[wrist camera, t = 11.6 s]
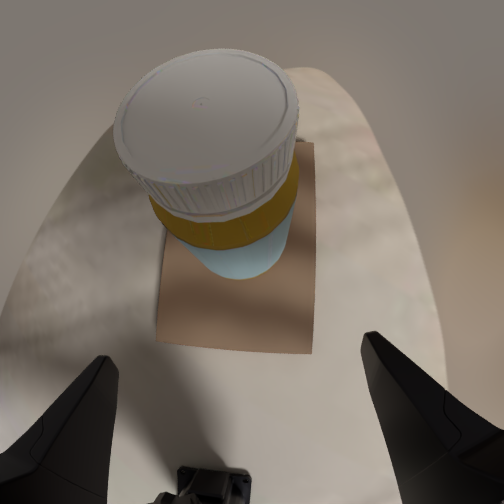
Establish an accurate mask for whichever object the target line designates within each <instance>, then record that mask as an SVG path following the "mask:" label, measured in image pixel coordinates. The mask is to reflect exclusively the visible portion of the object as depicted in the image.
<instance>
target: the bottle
mask: <svg viewBox="0 0 504 504" xmlns="http://www.w3.org/2000/svg"><path fill="white" fill-rule="evenodd" d="M298 104H299V100H298V98H297V93H296V90H295V87H294V85H293V83H292V81H291V80H290V78H289V77H288V75H287V74H286V73H285V72H284V71H283V70H282V69H281V68H280V67H279V66H277V65H276V64H275V63H273V62H272V61H270V60H268V59H266V58H264V57H262V56H260V55H257V54H254V53H251V52H247V51H242V50H236V49H208V50H201V51H196V52H192V53H188V54H185V55H182V56H179V57H176V58H174V59H172V60H169V61H167V62H165V63H163V64H162V65H160V66H158V67H156V68H155V69H154V70H152V71H150V72H149V73H148V74H146V75H145V76H144V77H143V78H141V79H140V80H139V81H138V82H137V83H136V84H135V85H134V86H133V87H132V89H131V90H130V91H129V92H128V93H127V95H126V96H125V98H124V99H123V101H122V103H121V105H120V107H119V109H118V111H117V114H116V117H115V121H114V127H113V138H114V144H115V147H116V151H117V152H118V154H119V158H120V160H121V161H122V163H123V165H124V166H125V167H126V168H127V170H128V171H129V172H130V173H131V174H132V175H133V177H134V178H135V179H136V180H137V181H138V182H139V184H140V185H141V186H142V187H143V188H144V189H145V191H146V192H147V193H148V194H149V199H150V202H151V204H152V207H153V209H154V212H155V214H156V216H157V217H158V219H159V220H160V221H161V222H162V224H163V225H164V226H165V227H166V228H167V229H168V230H169V231H170V232H171V234H172V235H173V236H174V237H175V238H177V239H178V240H179V241H180V242H181V243H182V244H183V245H184V246H185V247H186V248H187V249H188V250H189V251H190V252H191V253H192V254H193V255H194V256H195V257H196V258H198V259H199V260H200V261H201V262H202V263H203V264H204V265H205V266H206V267H207V268H208V269H209V270H211V271H212V272H214V273H216V274H218V275H220V276H221V277H224V278H227V279H233V280H246V279H252V278H255V277H258V276H260V275H261V274H263V273H265V272H267V271H268V270H269V269H270V268H271V267H272V266H273V265H274V264H275V263H276V262H277V261H278V260H279V258H280V256H281V254H282V252H283V250H284V248H285V244H286V240H287V236H288V232H289V227H290V223H291V218H292V214H293V210H294V205H295V201H296V196H297V190H298V180H299V165H298V162H297V158H296V154H295V151H294V147H295V140H296V133H297V125H298V118H299V106H298Z"/></svg>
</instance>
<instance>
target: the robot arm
mask: <svg viewBox="0 0 504 504" xmlns="http://www.w3.org/2000/svg"><path fill="white" fill-rule="evenodd" d="M361 356H362V361H363V365H364V369H365V374H366V378H367V383H368V388H369V392H370V395H371V398H372V401H373V404H374V407H375V410H376V413H377V416H378V419H379V422H380V426H381V429H382V432H383V435H384V438H385V442H386V445H387V448H388V452H389V455H390V459H391V462H392V466H393V469H394V473H395V476H396V480H397V484H398V488H399V492H400V496H401V500H402V504H504V430H502V429H500V428H498V427H496V426H494V425H493V424H491V423H490V422H488V421H487V420H485V419H484V418H482V417H481V416H479V415H478V414H476V413H475V412H474V411H472V410H471V409H469V408H468V407H466V406H465V405H464V404H463V403H461V402H460V401H459V400H458V399H456V398H455V397H454V396H453V395H452V394H450V393H449V392H448V391H447V390H445V388H443V387H442V386H441V385H440V384H439V383H438V382H436V381H435V380H434V379H433V378H432V377H431V376H429V375H428V374H427V373H426V372H425V371H423V370H422V369H421V368H420V367H419V366H418V365H416V364H415V363H414V362H413V361H412V360H411V359H409V358H408V357H407V356H406V355H405V354H403V353H402V352H401V351H400V350H399V349H397V348H396V347H395V346H394V345H393V344H391V343H390V342H389V341H388V340H387V339H386V338H384V337H383V336H382V335H381V334H380V333H378V332H377V331H371V332H366V333H365V334H364V336H363V341H362V345H361ZM118 379H119V372H118V369H117V367H116V366H115V364H114V363H113V361H112V360H111V358H110V357H109V356H107V355H99V356H97V357H96V358H95V359H94V360H93V361H92V362H91V363H90V365H89V366H88V367H87V368H86V369H85V370H84V371H83V372H82V373H81V374H80V375H79V376H78V377H77V378H76V379H75V380H74V381H73V382H72V383H71V384H70V385H69V386H68V388H67V389H66V390H65V391H64V392H63V393H62V394H61V395H60V396H59V397H58V398H57V399H56V400H55V401H54V403H53V404H52V405H51V406H50V407H49V408H48V409H47V410H46V411H45V412H44V413H43V415H42V416H41V417H40V418H39V419H38V420H37V421H36V422H35V423H34V424H33V425H32V426H31V427H30V428H29V429H28V430H27V431H26V432H25V433H24V434H23V435H22V436H21V437H20V438H19V439H18V440H17V441H16V442H15V443H14V444H12V445H11V446H10V447H9V448H8V449H7V450H6V451H5V452H3V453H1V454H0V504H107V491H108V477H109V465H110V455H111V446H112V438H113V430H114V423H115V417H116V409H117V394H118ZM181 470H183V471H185V473H183V472H182V471H181ZM177 479H178V495H174V494H171V493H168V492H163V493H160V494H159V495H158V496H157V498H156V499H155V501H154V502H153V503H148V504H250V493H251V482H252V478H251V477H250V476H249V475H241V474H231V473H227V472H221V471H214V470H207V469H195V468H189V467H184V466H181V467H179V469H178V471H177ZM244 479H247V480H248V481H244Z"/></svg>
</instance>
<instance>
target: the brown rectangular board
mask: <svg viewBox="0 0 504 504" xmlns="http://www.w3.org/2000/svg"><path fill="white" fill-rule="evenodd" d="M294 151H295V154H296V158H297V162H298V165H299V180H298V190H297V196H296V201H295V205H294V210H293V214H292V218H291V223H290V227H289V232H288V236H287V240H286V244H285V248H284V250H283V252H282V254H281V256H280V258H279V260H278V261H277V262H276V263H275V264H274V265H273V266H272V267H271V268H270V269H269V270H268V271H267V272H265V273H263V274H261V275H260V276H258V277H255V278H252V279H246V280H233V279H227V278H224V277H221V276H220V275H218V274H216V273H214V272H212V271H211V270H209V269H208V268H207V267H206V266H205V265H204V264H203V263H202V262H201V261H200V260H199V259H198V258H196V257H195V256H194V255H193V254H192V253H191V252H190V251H189V250H188V249H187V248H186V247H185V246H184V245H183V244H182V243H181V242H180V241H179V240H178V239H177V238H175V237H174V236H173V235H172V234H171V232H170V231H169V230H168V229H167V236H166V243H165V250H164V258H163V266H162V275H161V284H160V294H159V304H158V316H157V329H156V341H158V342H165V343H172V344H179V345H187V346H195V347H204V348H214V349H224V350H236V351H249V352H266V353H288V354H312V341H313V324H314V302H315V268H316V196H315V163H314V143H311V142H297V141H295V147H294Z"/></svg>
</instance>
